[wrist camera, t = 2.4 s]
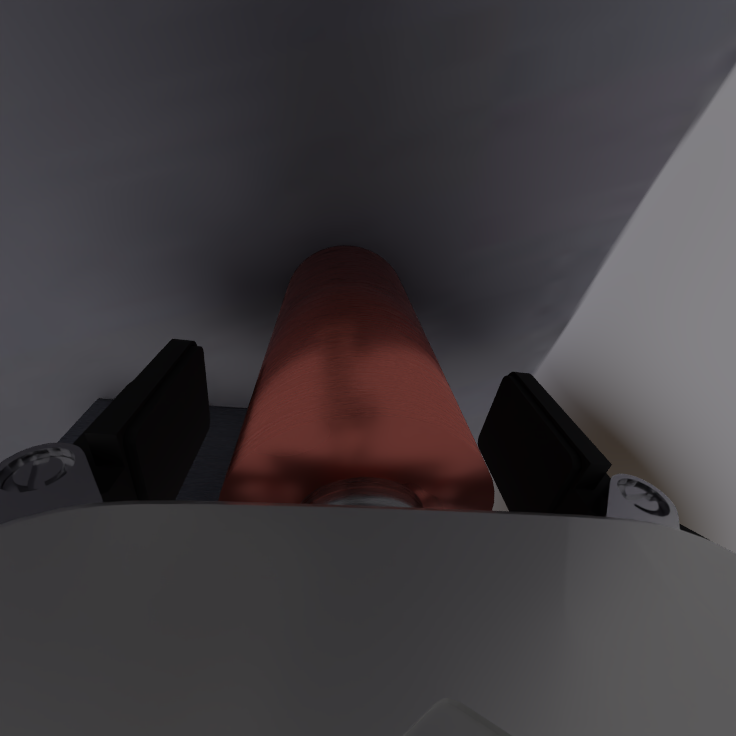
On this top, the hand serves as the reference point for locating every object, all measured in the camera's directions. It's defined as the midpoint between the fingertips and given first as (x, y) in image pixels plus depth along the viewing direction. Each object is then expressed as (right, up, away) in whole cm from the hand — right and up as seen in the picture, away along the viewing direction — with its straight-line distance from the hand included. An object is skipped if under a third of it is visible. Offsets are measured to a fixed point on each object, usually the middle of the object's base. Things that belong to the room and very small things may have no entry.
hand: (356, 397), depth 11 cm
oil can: (-1, +4, +4) cm, 5 cm away
